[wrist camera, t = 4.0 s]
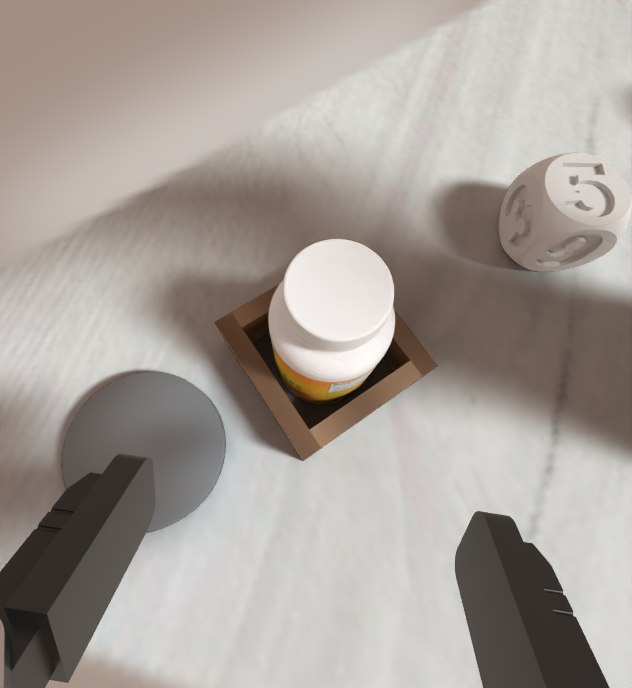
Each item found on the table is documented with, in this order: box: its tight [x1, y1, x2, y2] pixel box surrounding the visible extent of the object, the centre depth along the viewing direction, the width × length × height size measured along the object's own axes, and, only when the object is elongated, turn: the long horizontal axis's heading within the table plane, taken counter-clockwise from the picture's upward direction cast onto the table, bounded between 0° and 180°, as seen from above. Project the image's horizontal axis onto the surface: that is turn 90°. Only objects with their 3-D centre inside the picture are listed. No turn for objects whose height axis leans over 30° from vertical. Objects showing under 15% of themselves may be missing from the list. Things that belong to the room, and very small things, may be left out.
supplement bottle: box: [268, 239, 395, 404], centre depth 19 cm, size 5×5×10 cm
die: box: [499, 153, 632, 272], centre depth 24 cm, size 5×5×5 cm
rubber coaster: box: [61, 372, 226, 533], centre depth 21 cm, size 8×8×1 cm
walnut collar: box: [215, 284, 438, 461], centre depth 22 cm, size 8×8×3 cm
